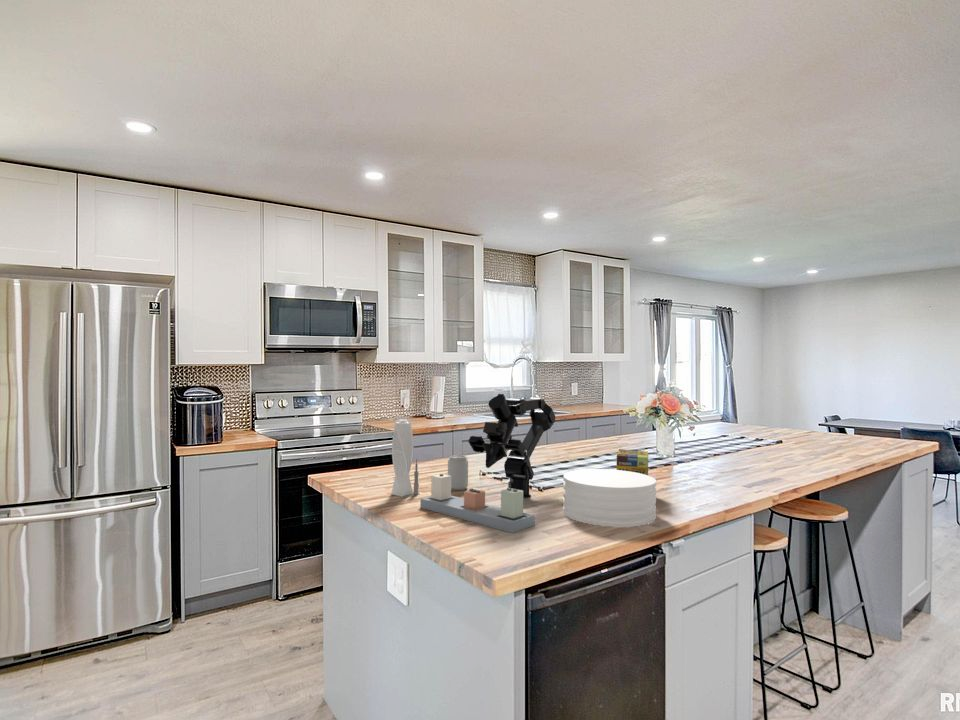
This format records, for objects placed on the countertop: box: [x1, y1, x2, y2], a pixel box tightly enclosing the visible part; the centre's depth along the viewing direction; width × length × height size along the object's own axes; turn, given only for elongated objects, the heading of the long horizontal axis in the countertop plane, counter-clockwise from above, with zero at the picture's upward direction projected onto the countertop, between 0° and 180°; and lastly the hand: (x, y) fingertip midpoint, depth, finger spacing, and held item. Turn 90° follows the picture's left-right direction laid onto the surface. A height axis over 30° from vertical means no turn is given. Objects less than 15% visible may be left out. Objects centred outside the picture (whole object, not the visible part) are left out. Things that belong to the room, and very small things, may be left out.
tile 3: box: [463, 488, 486, 511], centre depth 164 cm, size 4×4×8 cm
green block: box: [500, 487, 524, 518], centre depth 155 cm, size 4×4×8 cm
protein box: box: [615, 448, 649, 476], centre depth 191 cm, size 10×15×16 cm
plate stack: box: [562, 468, 657, 528], centre depth 169 cm, size 28×28×12 cm
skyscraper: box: [391, 415, 420, 499], centre depth 190 cm, size 8×8×28 cm
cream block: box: [430, 473, 452, 500], centre depth 174 cm, size 4×4×8 cm
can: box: [447, 454, 469, 491], centre depth 200 cm, size 8×8×12 cm
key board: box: [419, 495, 535, 534], centre depth 164 cm, size 38×10×3 cm, turn 48°
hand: (487, 467), depth 171 cm, fingers closed
